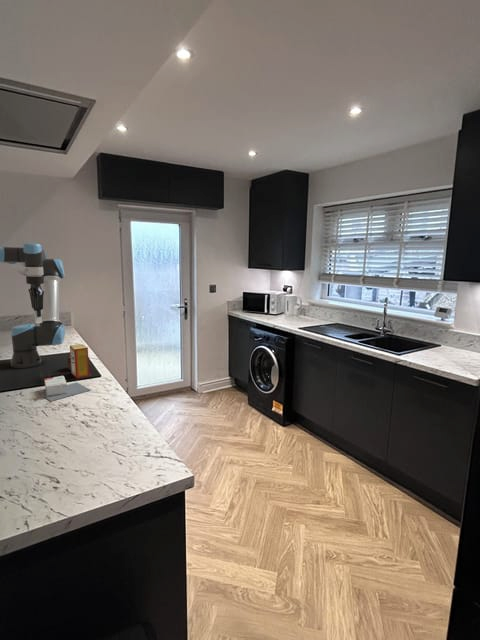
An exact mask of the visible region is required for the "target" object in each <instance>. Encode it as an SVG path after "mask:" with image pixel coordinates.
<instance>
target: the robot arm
mask: <svg viewBox="0 0 480 640" xmlns="http://www.w3.org/2000/svg"><path fill="white" fill-rule="evenodd" d="M22 246H23V247H21V246H20V247H14V246H11V247H9V246H0V263H1V264H2V263H6V264H8V265H10V266H11V267H12V268H14V269H15V271H16V272H17V273H19V274H20V275H23V276H25V281H26V284H27V285H30V287H29V288H28V290H27V291H28V293H29V298H30V303H31V308H32V309H33V311H34V313H33V314H34V323H23V324H19V325H16V326H13V327H12V328H11V335H10V336H11V343H12V352H13V353H12V356H11V359H10V367H11V368H14V369H26V368H32V367H36V366H40V365H41V364H42V357H41V355H40V354H39V351H38V348H37V347H45V346H46V347H47V346H56V345H57V346H59V345H62V344H63V342H64V341H65V335H66V327H65V325H64V324H63V322H62V321H61V320H60V283H61V282H62V281H63V279H64V278H65V276H66V275H65V270H64V269H65V268H64V264H63V261H62V259H59V258H47V253H46V251H45V250H44V249H42V245H41V244H40V243H30V242H29V243H24V244H23V245H22ZM42 288H43V289H42ZM35 324H39V325H35Z"/></svg>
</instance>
